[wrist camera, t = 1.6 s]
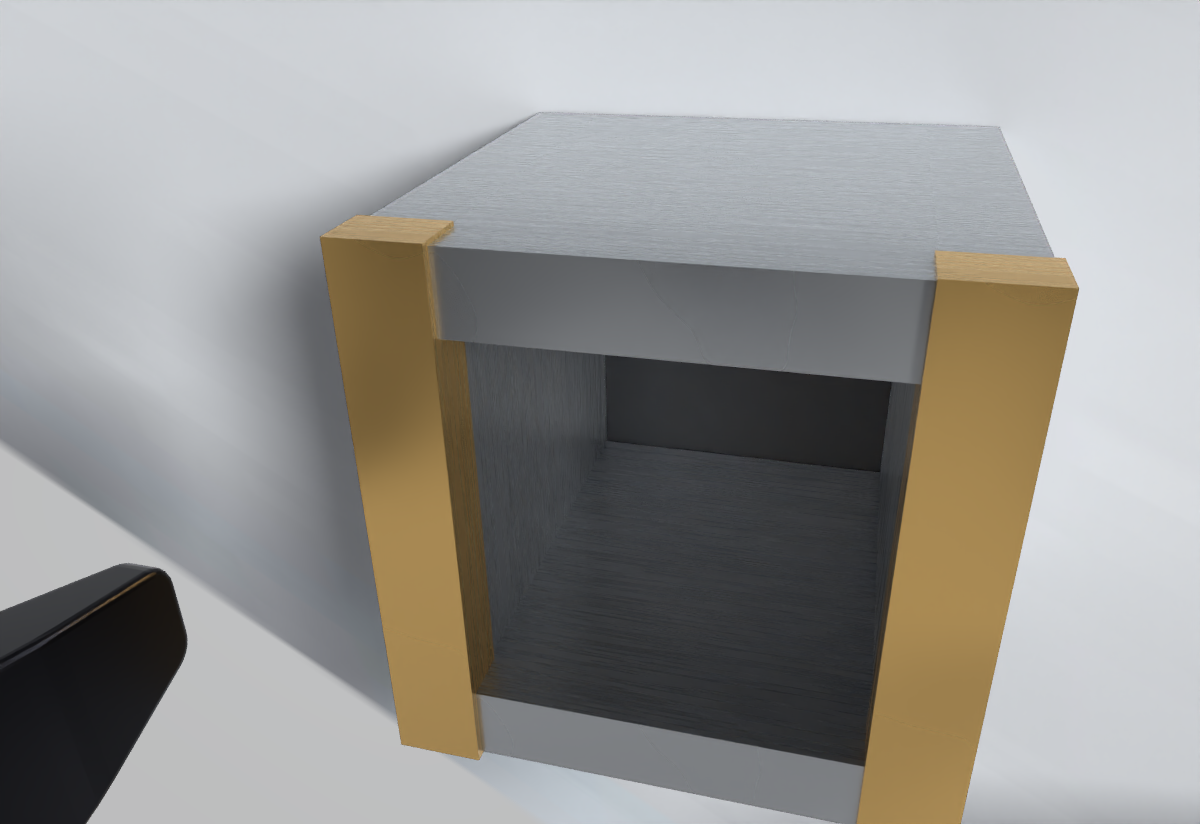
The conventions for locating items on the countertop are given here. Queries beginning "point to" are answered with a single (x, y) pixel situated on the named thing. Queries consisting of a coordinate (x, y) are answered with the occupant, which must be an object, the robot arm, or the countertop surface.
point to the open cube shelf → (700, 479)
